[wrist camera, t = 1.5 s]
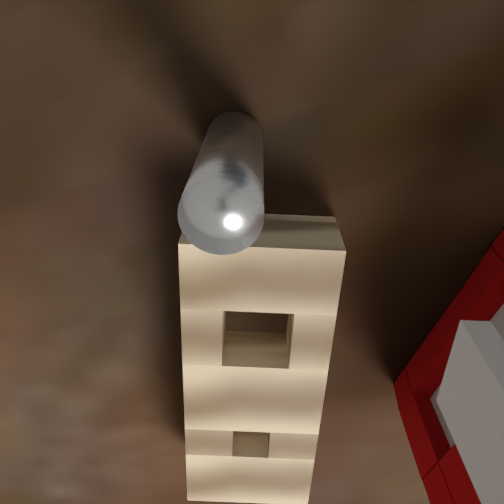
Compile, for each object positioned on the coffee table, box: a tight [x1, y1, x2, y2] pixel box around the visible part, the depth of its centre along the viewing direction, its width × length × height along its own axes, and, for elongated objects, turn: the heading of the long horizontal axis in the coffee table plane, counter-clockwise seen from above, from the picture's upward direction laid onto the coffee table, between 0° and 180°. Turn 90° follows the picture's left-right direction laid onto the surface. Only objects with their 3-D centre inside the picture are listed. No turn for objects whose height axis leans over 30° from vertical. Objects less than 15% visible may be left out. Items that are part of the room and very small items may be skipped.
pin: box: [178, 111, 264, 255], centre depth 25 cm, size 4×4×12 cm
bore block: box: [178, 214, 346, 504], centre depth 36 cm, size 24×10×5 cm, turn 178°
